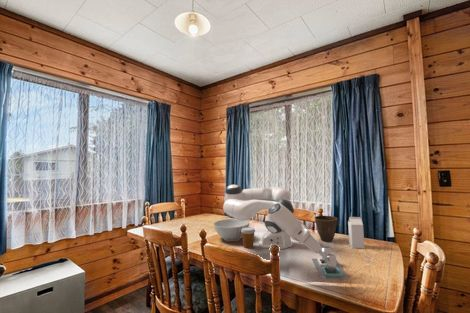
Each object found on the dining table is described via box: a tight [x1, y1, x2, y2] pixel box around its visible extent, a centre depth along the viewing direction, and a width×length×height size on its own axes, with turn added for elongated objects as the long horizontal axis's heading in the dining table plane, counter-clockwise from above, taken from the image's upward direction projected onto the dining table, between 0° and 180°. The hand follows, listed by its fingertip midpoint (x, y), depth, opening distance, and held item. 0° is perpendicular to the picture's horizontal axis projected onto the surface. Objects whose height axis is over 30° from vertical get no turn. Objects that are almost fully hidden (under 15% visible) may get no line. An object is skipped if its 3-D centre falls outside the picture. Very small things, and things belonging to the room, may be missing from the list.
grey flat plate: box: [311, 258, 351, 283], centre depth 117 cm, size 13×23×2 cm, turn 171°
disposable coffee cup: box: [241, 226, 256, 249], centre depth 155 cm, size 10×10×12 cm
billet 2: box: [326, 253, 337, 274], centre depth 111 cm, size 4×4×8 cm
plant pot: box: [314, 215, 338, 243], centre depth 164 cm, size 15×15×16 cm
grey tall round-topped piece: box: [321, 246, 332, 264], centre depth 122 cm, size 4×4×8 cm
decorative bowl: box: [213, 218, 250, 242], centre depth 173 cm, size 27×27×12 cm
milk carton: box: [347, 216, 365, 249], centre depth 151 cm, size 7×7×19 cm
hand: (317, 250), depth 111 cm, fingers open, 8 cm apart
